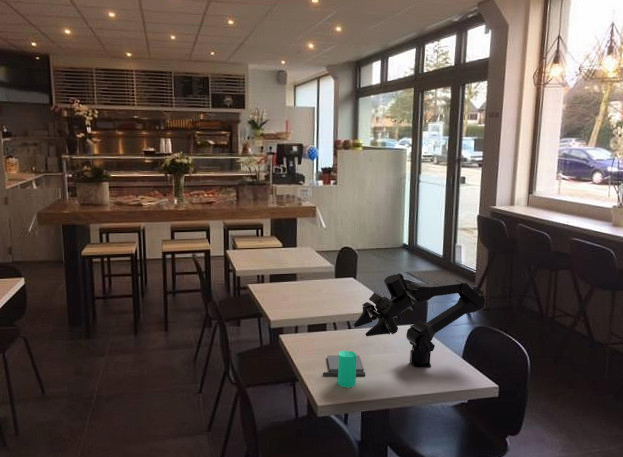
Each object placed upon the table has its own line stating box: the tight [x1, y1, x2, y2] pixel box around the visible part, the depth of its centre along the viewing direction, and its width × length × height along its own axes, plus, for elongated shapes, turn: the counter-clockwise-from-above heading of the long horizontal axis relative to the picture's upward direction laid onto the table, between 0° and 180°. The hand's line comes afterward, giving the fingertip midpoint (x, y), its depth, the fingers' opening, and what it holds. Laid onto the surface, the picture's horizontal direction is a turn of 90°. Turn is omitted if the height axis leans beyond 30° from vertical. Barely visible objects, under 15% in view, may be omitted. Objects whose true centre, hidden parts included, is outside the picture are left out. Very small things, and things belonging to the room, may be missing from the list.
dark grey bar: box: [322, 371, 366, 377], centre depth 190 cm, size 15×1×1 cm, turn 93°
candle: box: [337, 350, 358, 388], centre depth 183 cm, size 6×6×12 cm
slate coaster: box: [326, 354, 365, 372], centre depth 199 cm, size 12×12×1 cm
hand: (360, 330), depth 190 cm, fingers open, 9 cm apart
